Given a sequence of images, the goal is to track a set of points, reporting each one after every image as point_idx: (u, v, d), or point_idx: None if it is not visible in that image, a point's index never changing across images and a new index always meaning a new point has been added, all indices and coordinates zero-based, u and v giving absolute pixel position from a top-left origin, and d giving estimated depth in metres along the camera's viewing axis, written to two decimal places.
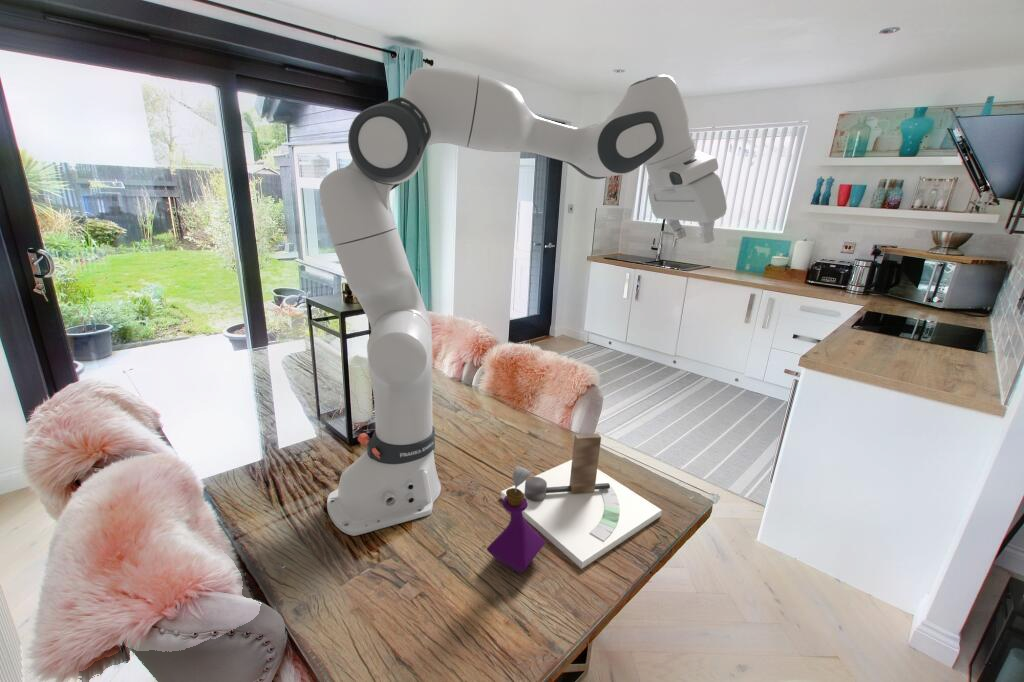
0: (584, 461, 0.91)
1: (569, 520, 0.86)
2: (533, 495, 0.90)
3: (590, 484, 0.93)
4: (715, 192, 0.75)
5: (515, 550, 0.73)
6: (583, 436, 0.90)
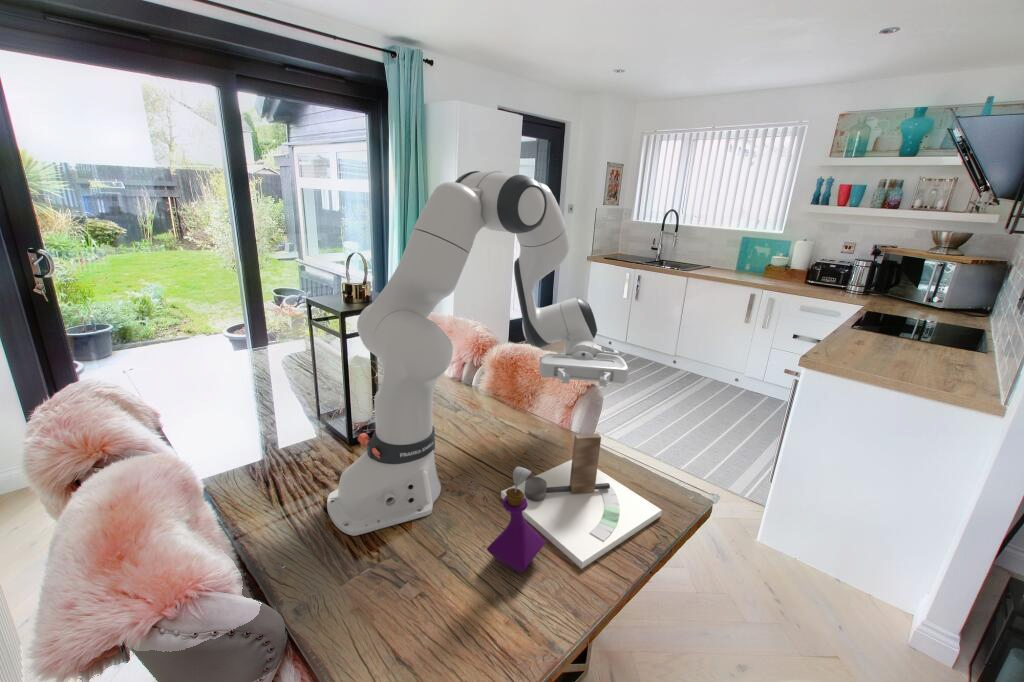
0: (584, 461, 0.91)
1: (569, 520, 0.86)
2: (533, 495, 0.90)
3: (590, 484, 0.93)
4: None
5: (515, 550, 0.73)
6: (583, 436, 0.90)
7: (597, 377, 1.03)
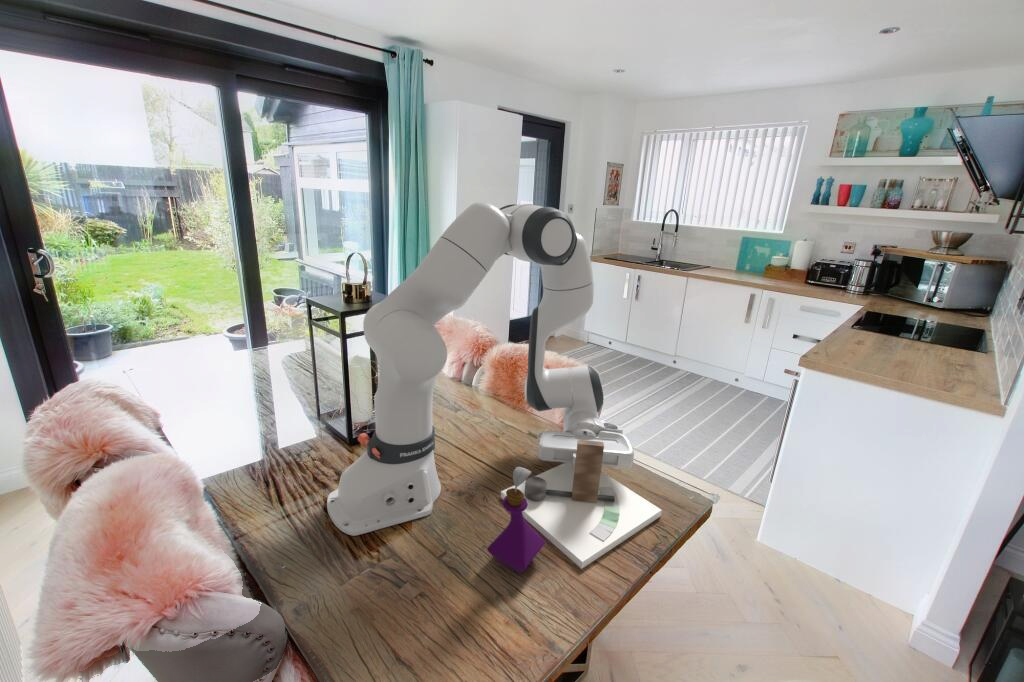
0: (585, 468, 0.88)
1: (569, 520, 0.86)
2: (530, 494, 0.90)
3: (592, 493, 0.90)
4: None
5: (515, 550, 0.73)
6: (586, 443, 0.87)
7: None
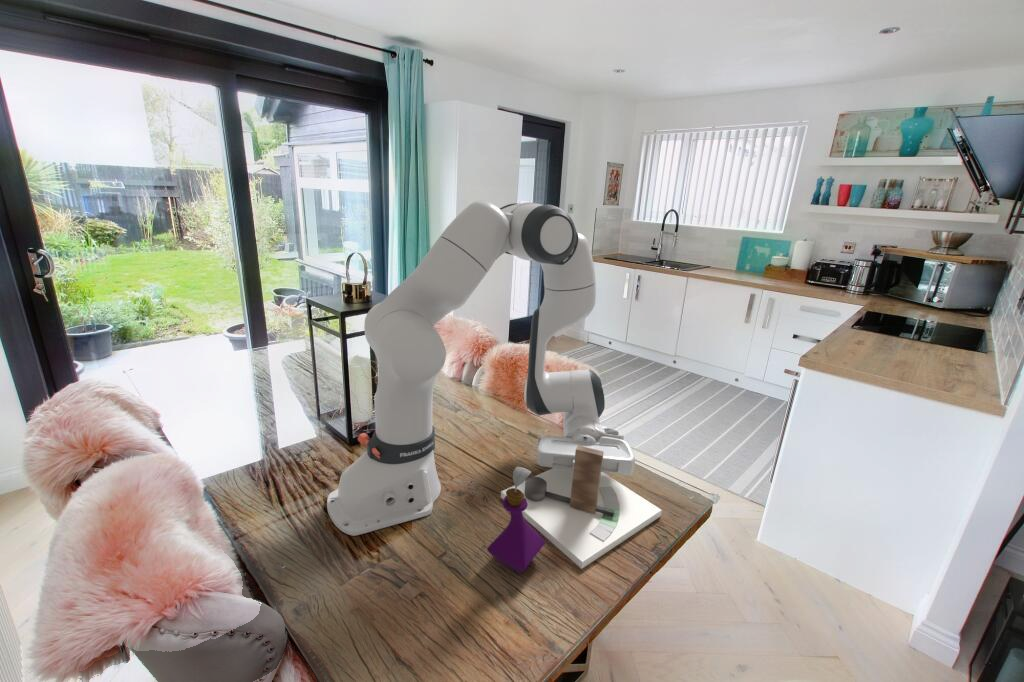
0: (583, 476, 0.86)
1: (569, 520, 0.86)
2: (528, 493, 0.90)
3: (590, 503, 0.87)
4: None
5: (515, 550, 0.73)
6: (584, 449, 0.85)
7: None
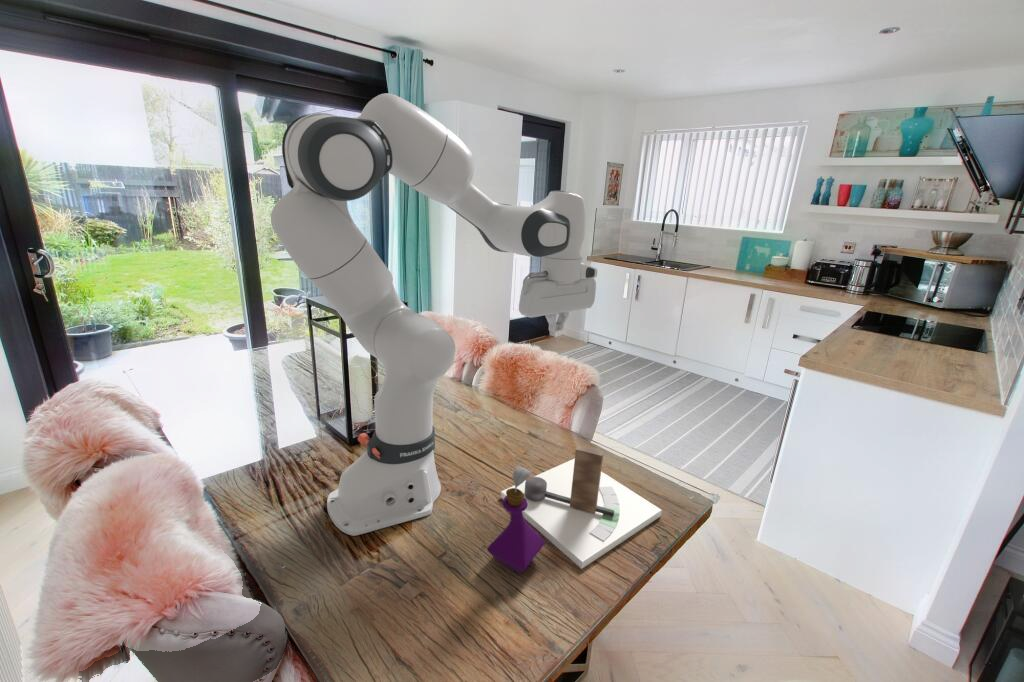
0: (583, 476, 0.86)
1: (569, 520, 0.86)
2: (528, 493, 0.90)
3: (590, 503, 0.87)
4: None
5: (515, 550, 0.73)
6: (584, 449, 0.85)
7: None
